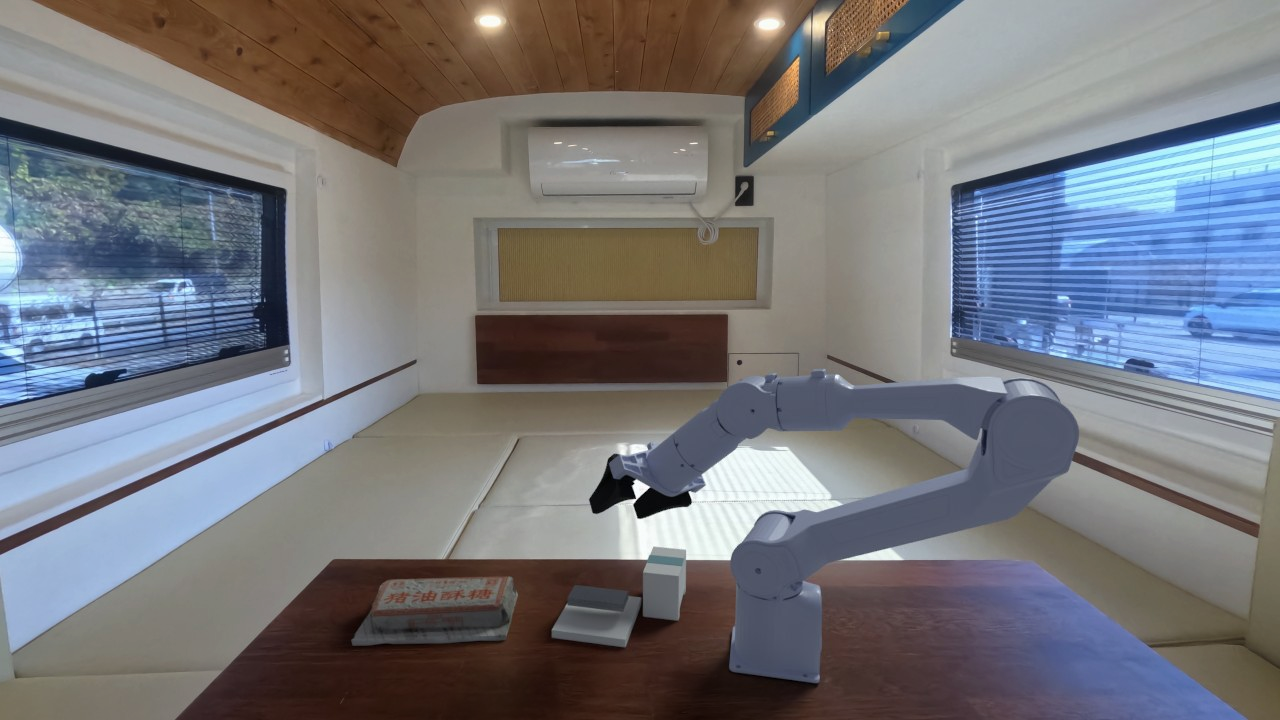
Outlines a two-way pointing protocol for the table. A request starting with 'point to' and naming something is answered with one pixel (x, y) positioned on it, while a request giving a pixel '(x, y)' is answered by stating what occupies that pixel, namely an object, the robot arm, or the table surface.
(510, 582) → the packaged product
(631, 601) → the base
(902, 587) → the table surface
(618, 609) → the dark grey flat block
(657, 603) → the block
